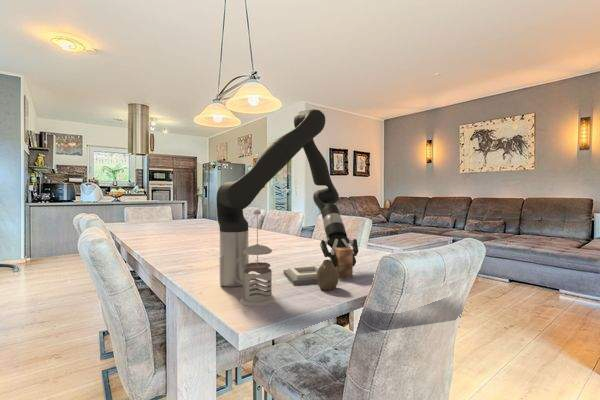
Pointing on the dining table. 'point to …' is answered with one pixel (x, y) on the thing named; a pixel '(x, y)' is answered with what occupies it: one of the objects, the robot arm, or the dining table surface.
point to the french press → (256, 276)
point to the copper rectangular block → (344, 262)
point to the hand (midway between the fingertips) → (344, 265)
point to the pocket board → (302, 274)
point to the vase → (327, 275)
